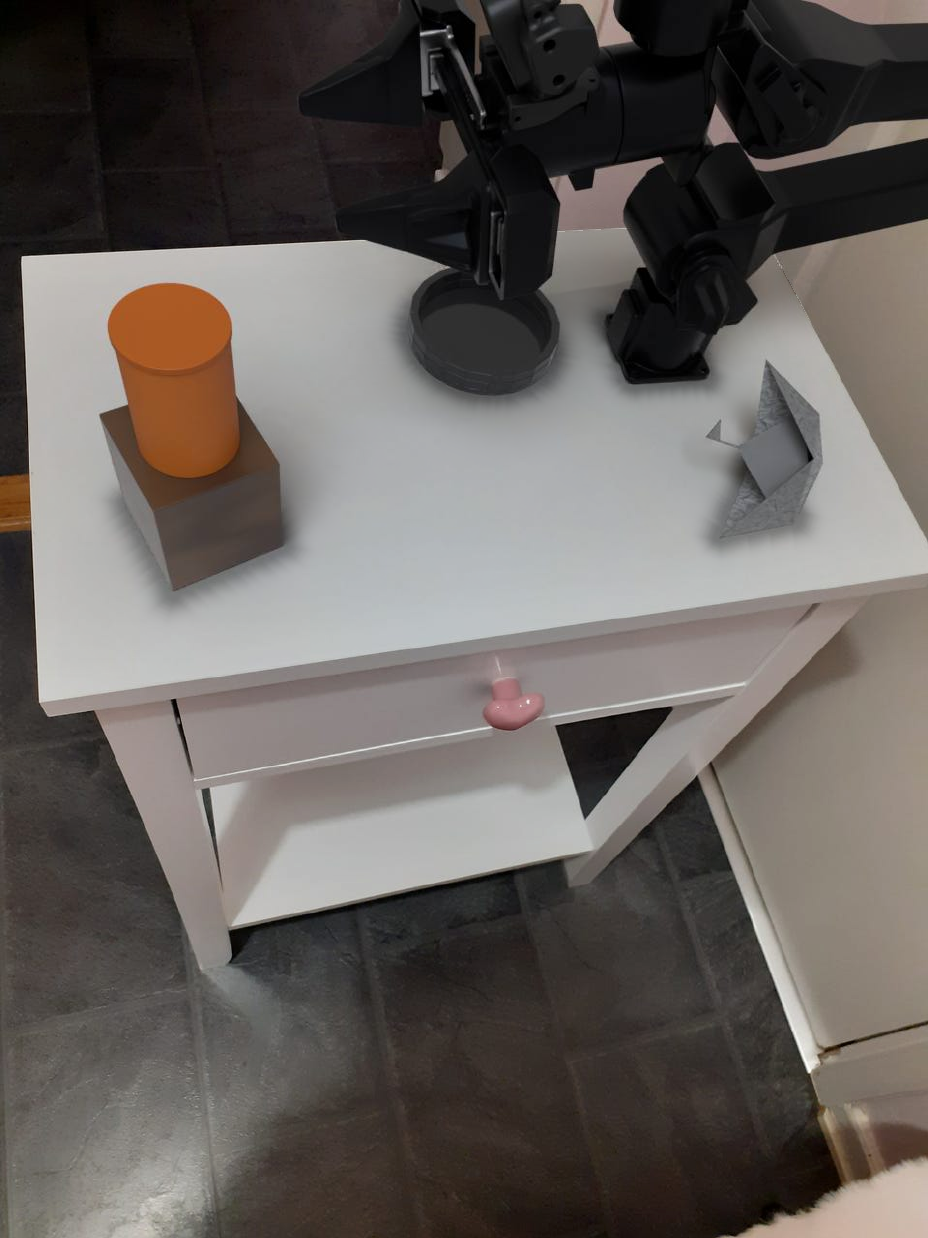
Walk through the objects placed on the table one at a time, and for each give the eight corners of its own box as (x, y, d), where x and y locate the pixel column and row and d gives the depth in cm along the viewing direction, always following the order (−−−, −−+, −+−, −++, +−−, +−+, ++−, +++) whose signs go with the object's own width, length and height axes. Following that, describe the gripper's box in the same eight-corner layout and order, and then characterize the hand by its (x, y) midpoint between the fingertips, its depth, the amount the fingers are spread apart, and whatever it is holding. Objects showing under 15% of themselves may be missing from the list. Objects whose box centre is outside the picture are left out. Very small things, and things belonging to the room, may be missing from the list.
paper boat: (830, 561, 60) (714, 528, 57) (766, 557, 66) (658, 526, 63) (874, 380, 60) (760, 336, 56) (806, 391, 66) (699, 352, 62)
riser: (232, 462, 58) (222, 372, 51) (283, 546, 56) (280, 463, 49) (124, 502, 56) (98, 413, 49) (172, 591, 53) (153, 511, 46)
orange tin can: (236, 396, 51) (225, 280, 44) (247, 475, 48) (237, 366, 41) (133, 402, 49) (105, 284, 42) (138, 484, 47) (109, 372, 40)
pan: (533, 283, 70) (538, 262, 68) (569, 390, 65) (576, 370, 64) (395, 288, 68) (398, 266, 66) (423, 399, 63) (426, 379, 61)
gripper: (562, -160, 46) (253, -116, 44) (705, 67, 38) (336, 133, 36) (543, 59, 56) (290, 103, 54) (653, 276, 48) (362, 336, 46)
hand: (316, 160), depth 47 cm, fingers open, 9 cm apart
